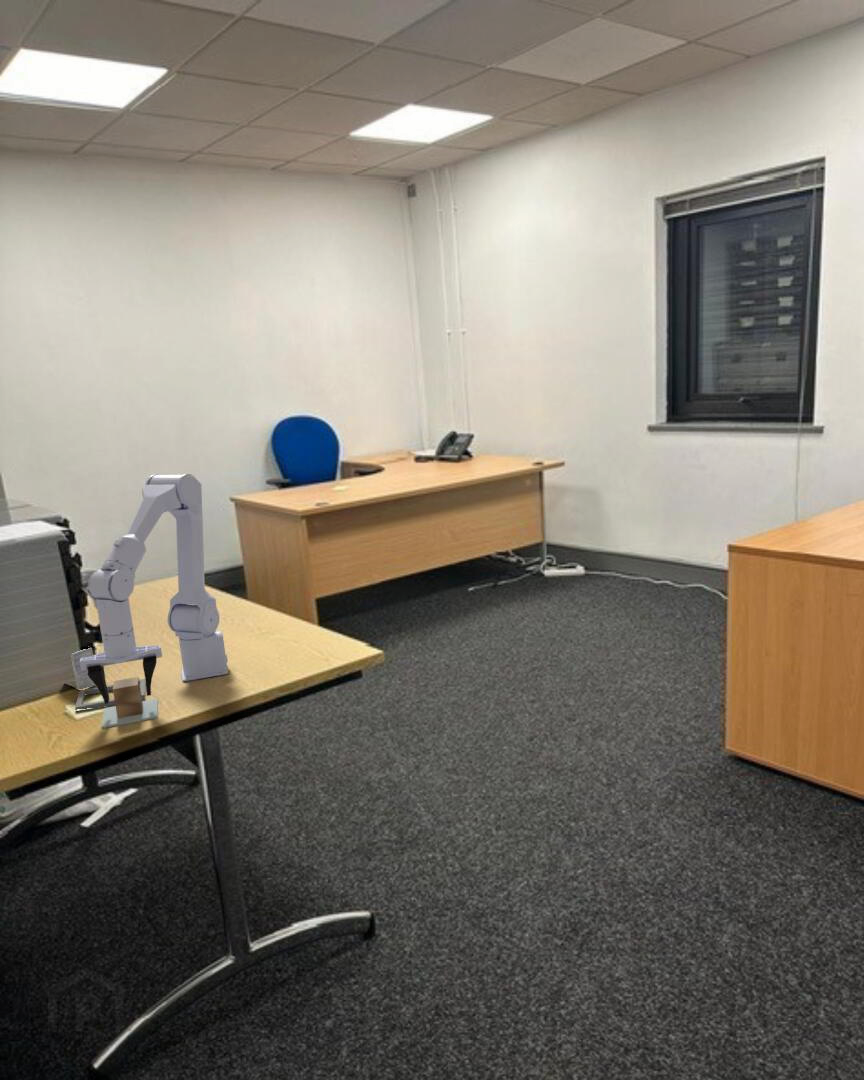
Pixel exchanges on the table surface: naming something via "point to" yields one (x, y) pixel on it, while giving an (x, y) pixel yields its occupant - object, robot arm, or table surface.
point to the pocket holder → (101, 703)
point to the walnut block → (128, 697)
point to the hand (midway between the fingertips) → (128, 697)
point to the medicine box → (80, 676)
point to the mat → (148, 713)
